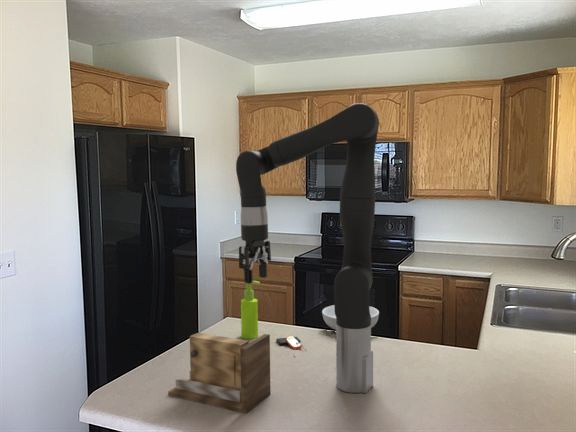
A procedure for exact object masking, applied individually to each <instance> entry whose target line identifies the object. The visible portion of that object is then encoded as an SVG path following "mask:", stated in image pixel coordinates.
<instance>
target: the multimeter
mask: <svg viewBox="0 0 576 432" xmlns="http://www.w3.org/2000/svg"><path fill="white" fill-rule="evenodd" d="M275 342H276V344H278V345H279V346H280V347H281V346H282V347H283V346H289V347H290V348H291V349H293V350H300V351H301V352H303V350H302V347H303V345H302V343H301V342H302V341H301V339H300V338H298V336H293V335H289V336H287V337H279V338H276V341H275ZM305 352H306V353H307V350H305ZM292 357H293V358H295V359H296V357H297V356H296V355H294V354H293V356H292Z"/></svg>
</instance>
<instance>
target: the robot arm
mask: <svg viewBox="0 0 576 432" xmlns="http://www.w3.org/2000/svg"><path fill="white" fill-rule="evenodd" d="M379 126H380V120H379V116H378V114H377V113H376V110H374V108H372V107H371V106H369V105H368V104H365V103H361V102H359V103H357V102H356V103H353V104H351V105H349V106H348V107H346V108H344V109H343V110H341V111H340V112H338V113H336V114H335V115H333V116H331V117H329V118H327V119H326V120H324V121H321V122H320V123H318V124H315V125H313V126H311V127H308V128H305V129H303V130H300V131H297V132H295V133H291V134H289V135H287V136H284V137H282V138H279V139H277V140H274V141H273V142H271V143H269V145H267V146H265V147H263V148H261V149H258V150H244V151H243V152H241V153H240V154H238V156H237V158H236V163H235V171H236V176H237V182H238V186H239V189H240V207H241V208H240V233H241V234H240V235H241V240H242V241H244V242H245V246H243V245H242V246H241V245H240V246H239V247H238V268H239V269H242V270H243V272H244V273H243V276H244V277H243V278H244V280H243V281H244V282H245V283H244V284H247V283H249V284H251V285H252V284H253V283H252V282H253V281H254V278H253V277H254V275H253V273H254V272H253V267H254V264H255V263H256V262H257V261H258V263H259V264H258V276H259V278H264V279H265V278H267V277H268V266H267V265H268V264H269V262H270V261H272V255H271V241H270V240H268V239H269V220H268V218H269V217H268V210H267V192H266V188H265V187H264V186H263V184H262V177H261V176H262V175H265V174H267V173H269V172H271V171H273V170H276V169H278V168H279V167H282V166H283V167H284V166H286V165H288V164H289V165H290V164H291V163H294V162H296V161H299V160H301V159H304V158H306V157H308V156H310V155H312V154H314V153H316V152H318V151H320V150H321V149H323V148H326V147H328V146H330V145H334V144H337V143H341V142H345V141H346V150H347V151H346V153H347V155H346V161H345V162H346V163H345V164H346V165H345V167H344V172H343V177H342V181H341V185H340V193H339V194H340V195H339V221H340V226H341V233H342V237H343V238H342V239H343V254H342V255H343V257H342V265H341V269H340V270H339V272H338V273H337V274H336V276H335V278H334V284H333V293H334V294H333V297H334V299H333V301H334V304H333V305H334V306H335V315H336V330H335V333H336V334H335V335H336V337H335V338H336V340H335V342H336V344H335V345H336V346H335V347H336V350H335V352H336V354H335V355H336V356H335V357H336V369H335V370H336V371H335V372H336V377H335V378H336V383H335V384H336V385H335V386H336V387H337V389H339V390H340V391H343V392H346V393H351V394H356V393H357V394H359V393H363V394H367V393H368V392H369V391H370V389H371V388H372V387H373V385H374V350H372V328H371V315H370V310H369V306H370V290H371V289H372V286H373V270H372V269H373V267H372V251H371V250H372V239H373V231H374V222H375V211H376V209H375V208H376V169H375V155H376V153H375V152H376V147H377V139H378V132H379Z"/></svg>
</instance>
